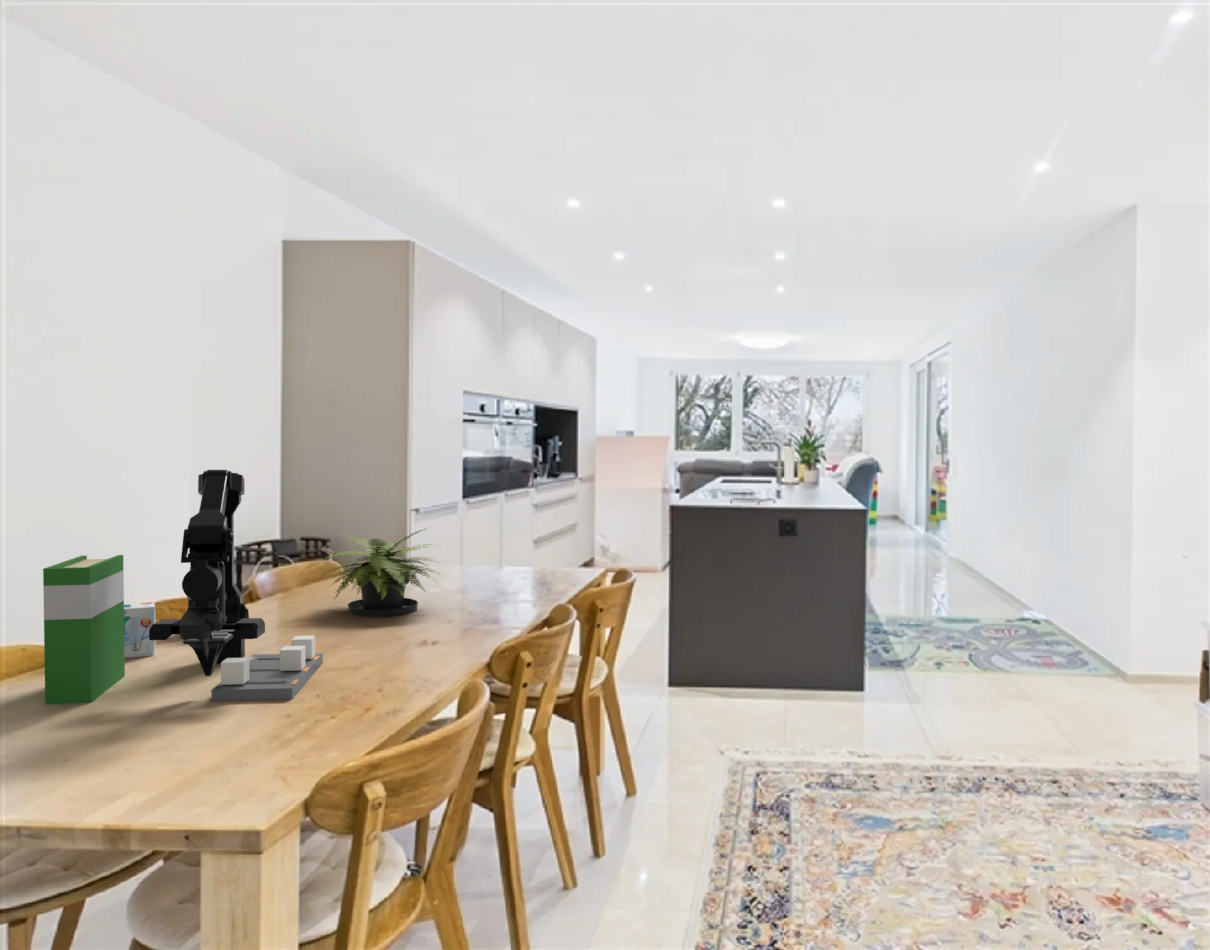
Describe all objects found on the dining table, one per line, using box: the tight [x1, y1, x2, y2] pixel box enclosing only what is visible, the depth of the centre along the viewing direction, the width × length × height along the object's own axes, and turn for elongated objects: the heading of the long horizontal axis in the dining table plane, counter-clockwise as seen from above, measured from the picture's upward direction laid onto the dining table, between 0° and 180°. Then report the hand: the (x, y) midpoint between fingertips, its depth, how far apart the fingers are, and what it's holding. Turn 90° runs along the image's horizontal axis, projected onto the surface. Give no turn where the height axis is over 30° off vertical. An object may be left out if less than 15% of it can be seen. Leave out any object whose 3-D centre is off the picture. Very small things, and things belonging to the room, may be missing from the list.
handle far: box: [290, 635, 316, 659], centre depth 179 cm, size 4×4×4 cm
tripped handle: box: [220, 657, 250, 685], centre depth 160 cm, size 4×4×4 cm
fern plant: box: [318, 526, 445, 618], centre depth 240 cm, size 37×39×24 cm
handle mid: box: [279, 645, 305, 671], centre depth 170 cm, size 4×4×4 cm
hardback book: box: [42, 554, 126, 706], centre depth 162 cm, size 18×7×24 cm, turn 12°
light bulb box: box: [124, 601, 156, 659], centre depth 189 cm, size 11×7×11 cm, turn 117°
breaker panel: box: [210, 652, 324, 702], centre depth 170 cm, size 14×26×2 cm, turn 6°
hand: (208, 675), depth 160 cm, fingers closed
